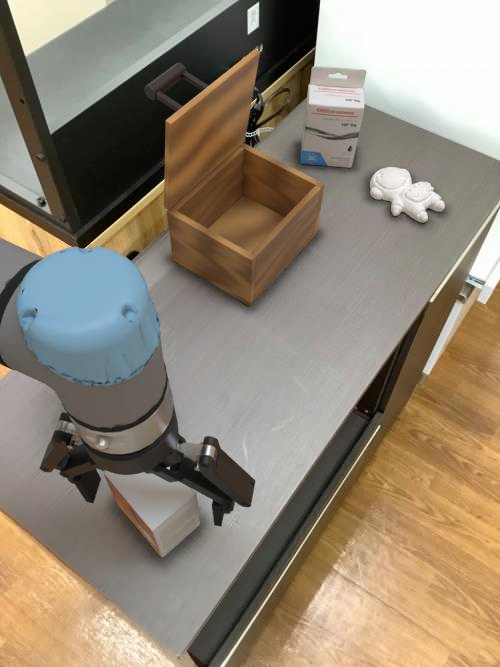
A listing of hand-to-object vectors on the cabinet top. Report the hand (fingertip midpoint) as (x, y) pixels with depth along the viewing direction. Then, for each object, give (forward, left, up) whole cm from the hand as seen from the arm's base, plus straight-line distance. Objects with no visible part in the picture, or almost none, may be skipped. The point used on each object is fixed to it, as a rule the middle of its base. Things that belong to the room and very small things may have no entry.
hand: (156, 501), depth 65 cm
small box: (0, 0, -5) cm, 5 cm away
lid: (-3, +43, +12) cm, 45 cm away
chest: (+2, +41, -5) cm, 41 cm away
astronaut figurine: (+25, +55, -5) cm, 61 cm away
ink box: (+12, +62, -5) cm, 63 cm away
